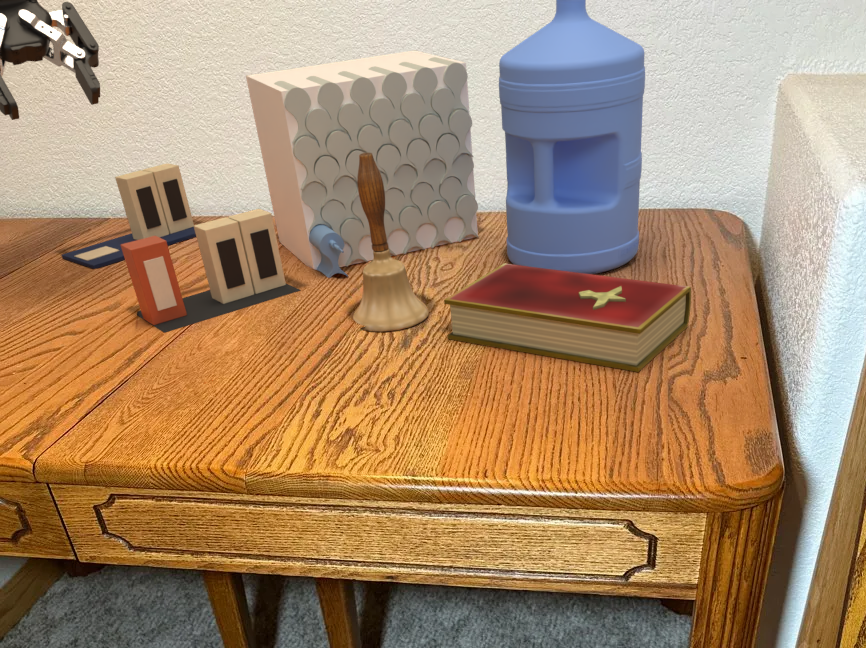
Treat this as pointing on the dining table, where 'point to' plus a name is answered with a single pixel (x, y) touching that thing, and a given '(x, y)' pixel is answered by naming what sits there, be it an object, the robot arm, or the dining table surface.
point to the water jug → (573, 144)
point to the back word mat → (145, 214)
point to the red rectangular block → (154, 279)
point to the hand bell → (383, 265)
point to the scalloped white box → (367, 133)
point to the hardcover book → (570, 315)
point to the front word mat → (234, 268)
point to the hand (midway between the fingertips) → (56, 106)
